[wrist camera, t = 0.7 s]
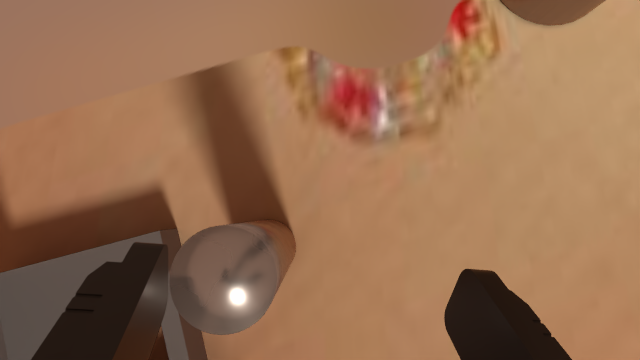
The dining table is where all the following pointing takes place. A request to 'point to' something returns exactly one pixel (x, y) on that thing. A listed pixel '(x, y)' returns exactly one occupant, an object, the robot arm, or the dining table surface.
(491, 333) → the robot arm
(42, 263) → the grey l-shaped stand
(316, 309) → the dining table surface
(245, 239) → the rod
